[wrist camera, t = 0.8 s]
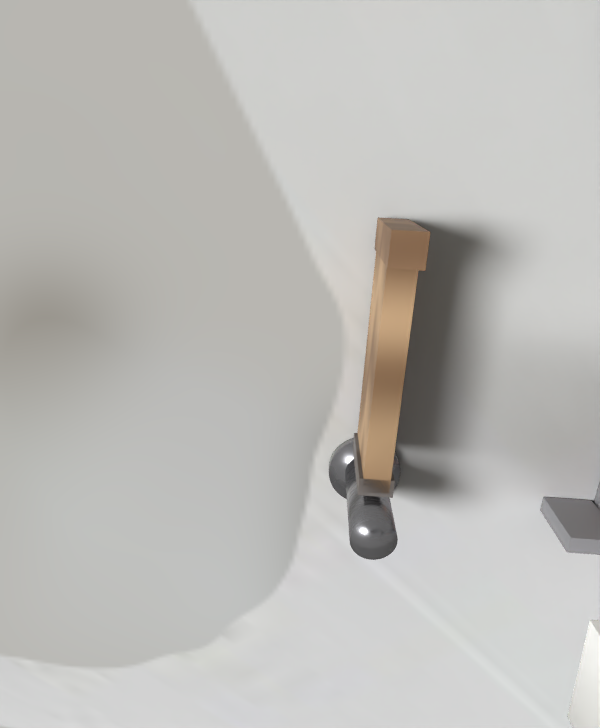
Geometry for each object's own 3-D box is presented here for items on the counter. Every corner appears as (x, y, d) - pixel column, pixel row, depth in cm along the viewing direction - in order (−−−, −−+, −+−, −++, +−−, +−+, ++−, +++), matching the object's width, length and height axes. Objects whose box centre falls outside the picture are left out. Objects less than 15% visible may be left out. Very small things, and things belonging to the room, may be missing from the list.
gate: (382, 449, 32) (394, 509, 26) (352, 447, 32) (358, 506, 26) (410, 219, 27) (432, 232, 22) (375, 217, 27) (389, 229, 22)
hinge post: (403, 439, 33) (423, 506, 26) (394, 499, 34) (411, 578, 28) (331, 434, 33) (333, 500, 26) (326, 495, 34) (327, 571, 28)
